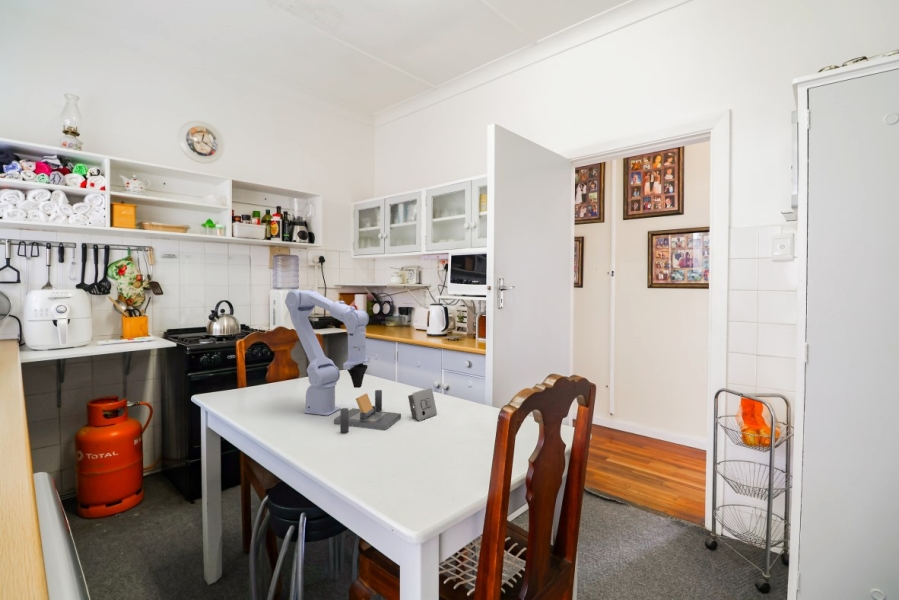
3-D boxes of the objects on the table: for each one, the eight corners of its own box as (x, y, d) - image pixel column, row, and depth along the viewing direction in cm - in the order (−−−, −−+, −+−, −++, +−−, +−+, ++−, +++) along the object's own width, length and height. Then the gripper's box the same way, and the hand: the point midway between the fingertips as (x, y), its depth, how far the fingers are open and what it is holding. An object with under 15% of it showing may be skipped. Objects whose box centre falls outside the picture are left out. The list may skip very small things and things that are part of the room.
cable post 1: (338, 432, 130) (338, 410, 130) (343, 430, 133) (343, 407, 132) (345, 433, 130) (345, 410, 129) (350, 431, 132) (350, 408, 132)
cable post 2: (373, 410, 152) (373, 391, 152) (376, 409, 155) (376, 389, 154) (380, 411, 152) (380, 391, 151) (382, 409, 154) (383, 390, 154)
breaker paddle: (362, 419, 139) (354, 399, 139) (371, 413, 145) (363, 394, 145) (366, 417, 138) (358, 397, 139) (375, 411, 144) (367, 392, 145)
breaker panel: (334, 423, 138) (334, 412, 138) (352, 412, 150) (352, 401, 150) (385, 430, 133) (385, 418, 133) (400, 418, 145) (401, 407, 145)
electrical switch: (418, 421, 142) (417, 393, 142) (407, 420, 145) (406, 392, 145) (437, 415, 149) (435, 388, 149) (426, 413, 152) (424, 387, 152)
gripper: (357, 350, 135) (358, 393, 136) (377, 343, 149) (378, 383, 149) (337, 349, 137) (337, 391, 137) (358, 343, 151) (359, 381, 151)
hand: (357, 387), depth 144 cm, fingers closed
